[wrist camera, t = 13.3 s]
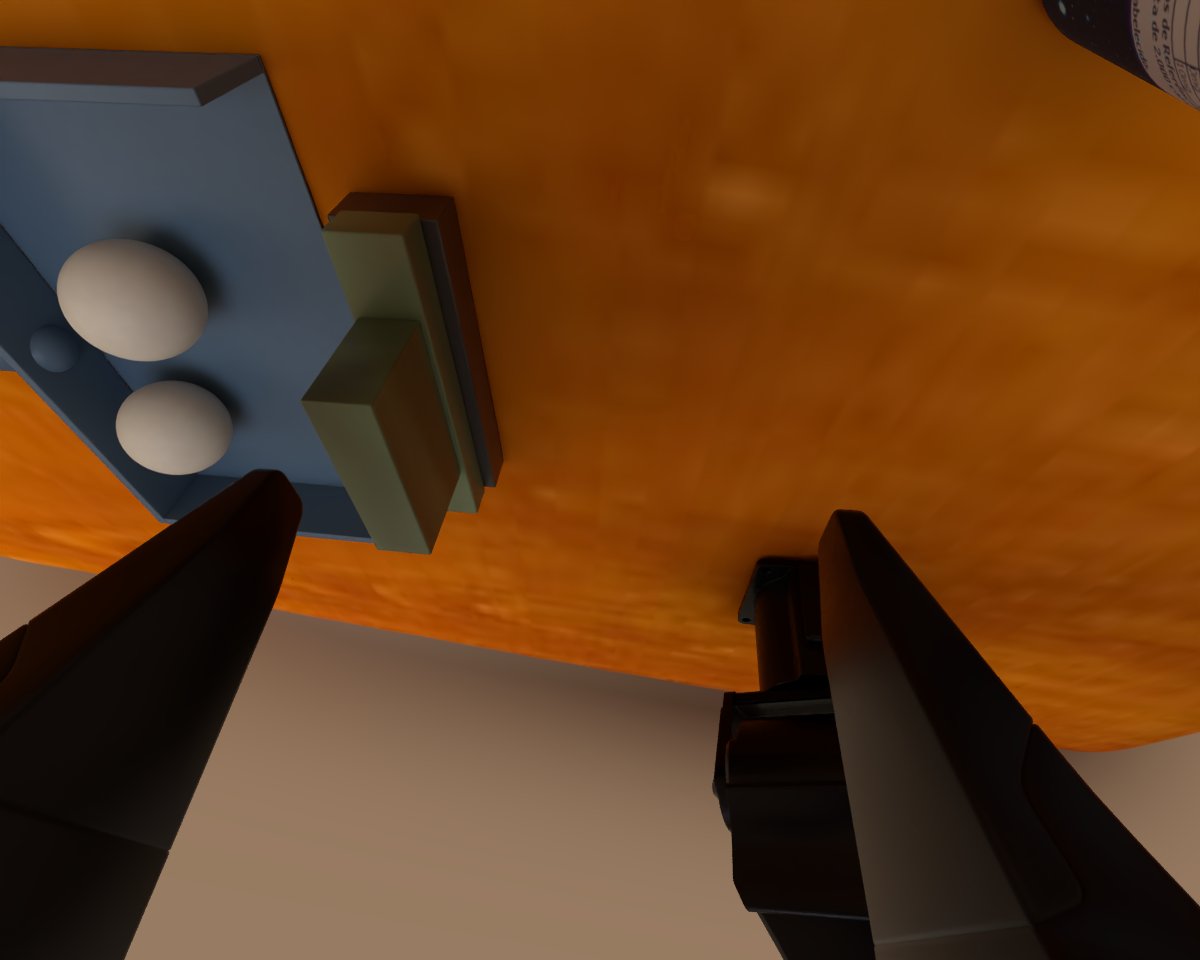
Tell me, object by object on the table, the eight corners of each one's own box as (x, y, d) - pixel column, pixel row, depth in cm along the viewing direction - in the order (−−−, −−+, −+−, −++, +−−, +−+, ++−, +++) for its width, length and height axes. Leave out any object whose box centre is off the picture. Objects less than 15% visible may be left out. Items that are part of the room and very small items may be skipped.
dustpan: (259, 54, 15) (192, 88, 13) (421, 497, 30) (401, 546, 28) (-452, 31, 17) (-608, 58, 15) (23, 461, 31) (-24, 505, 29)
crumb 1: (253, 328, 22) (170, 393, 19) (174, 314, 23) (85, 373, 20) (193, 224, 19) (85, 284, 16) (105, 212, 20) (-9, 267, 17)
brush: (452, 189, 18) (364, 318, 13) (504, 463, 27) (464, 595, 22) (346, 184, 18) (223, 309, 13) (434, 457, 27) (379, 587, 22)
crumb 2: (267, 449, 26) (188, 508, 24) (211, 414, 28) (131, 467, 25) (227, 385, 23) (132, 446, 21) (165, 348, 24) (69, 403, 22)
